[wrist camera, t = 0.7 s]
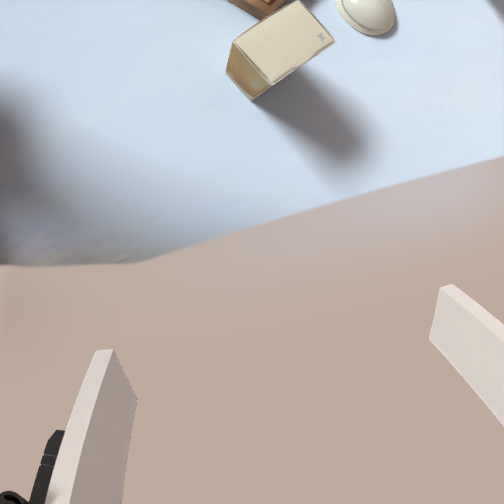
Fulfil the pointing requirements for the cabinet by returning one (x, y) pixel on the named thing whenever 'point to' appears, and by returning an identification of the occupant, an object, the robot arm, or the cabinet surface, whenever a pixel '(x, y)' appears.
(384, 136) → the cabinet surface
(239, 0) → the tan square flat tray
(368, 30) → the trinket dish
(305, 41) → the skincare box
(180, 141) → the cabinet surface
